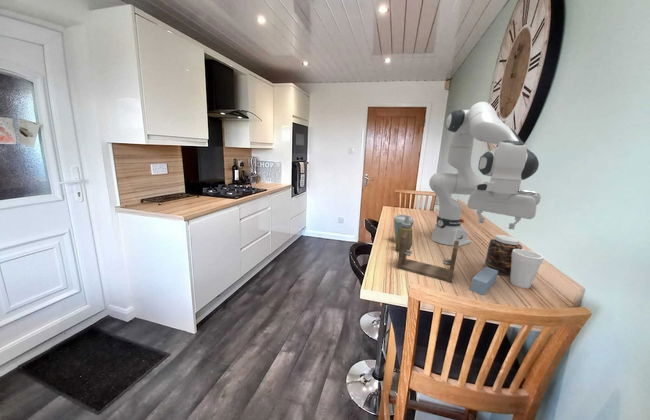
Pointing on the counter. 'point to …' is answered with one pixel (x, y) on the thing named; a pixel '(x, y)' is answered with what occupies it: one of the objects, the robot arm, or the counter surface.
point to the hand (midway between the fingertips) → (495, 225)
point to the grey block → (484, 280)
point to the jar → (501, 254)
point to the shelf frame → (423, 267)
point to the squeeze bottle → (404, 227)
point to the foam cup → (524, 267)
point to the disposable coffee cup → (398, 220)
